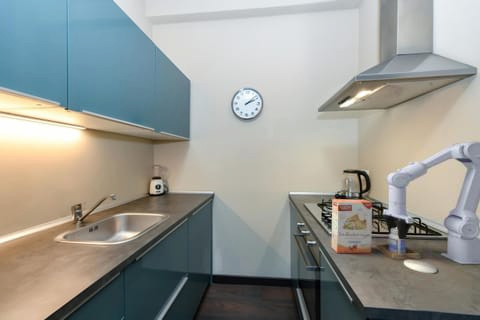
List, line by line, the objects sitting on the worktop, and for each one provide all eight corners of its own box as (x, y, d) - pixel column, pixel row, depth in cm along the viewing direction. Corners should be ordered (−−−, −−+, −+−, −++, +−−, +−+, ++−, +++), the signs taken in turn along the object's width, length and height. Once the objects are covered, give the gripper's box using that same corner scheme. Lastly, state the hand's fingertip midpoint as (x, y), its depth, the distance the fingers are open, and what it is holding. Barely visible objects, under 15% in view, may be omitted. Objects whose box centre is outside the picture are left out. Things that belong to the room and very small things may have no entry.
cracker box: (337, 254, 89) (337, 201, 89) (331, 248, 95) (331, 198, 95) (372, 254, 89) (372, 201, 89) (363, 248, 95) (364, 198, 95)
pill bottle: (402, 252, 91) (402, 228, 91) (407, 257, 86) (407, 232, 86) (386, 250, 93) (386, 226, 93) (391, 255, 88) (391, 230, 88)
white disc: (421, 261, 83) (421, 259, 83) (444, 273, 74) (444, 271, 74) (397, 261, 83) (397, 259, 83) (417, 273, 74) (417, 271, 74)
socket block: (399, 248, 95) (399, 243, 95) (420, 259, 84) (420, 254, 84) (375, 248, 94) (375, 243, 94) (393, 259, 84) (393, 254, 84)
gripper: (376, 199, 97) (376, 230, 97) (399, 206, 82) (399, 242, 82) (392, 199, 96) (392, 230, 97) (419, 206, 82) (418, 243, 82)
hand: (397, 236), depth 89 cm, fingers closed on pill bottle, 5 cm apart
